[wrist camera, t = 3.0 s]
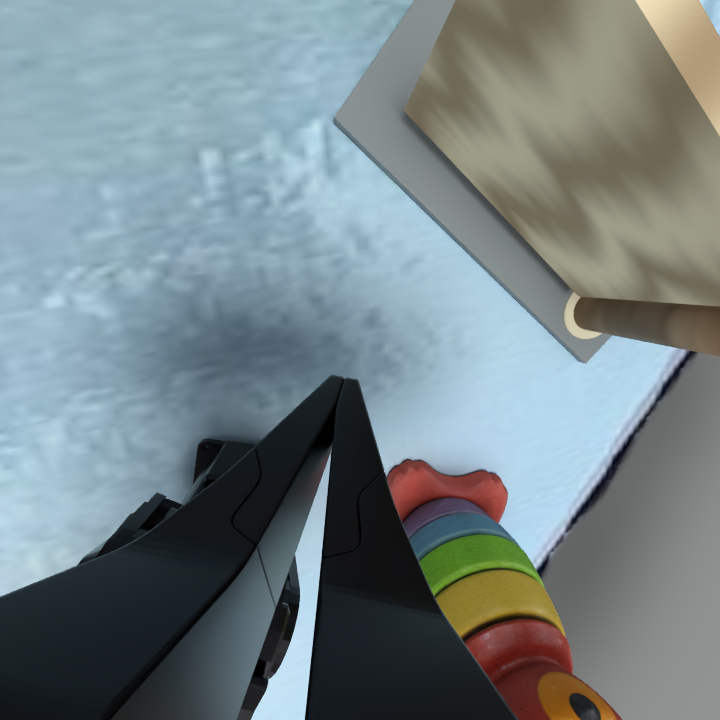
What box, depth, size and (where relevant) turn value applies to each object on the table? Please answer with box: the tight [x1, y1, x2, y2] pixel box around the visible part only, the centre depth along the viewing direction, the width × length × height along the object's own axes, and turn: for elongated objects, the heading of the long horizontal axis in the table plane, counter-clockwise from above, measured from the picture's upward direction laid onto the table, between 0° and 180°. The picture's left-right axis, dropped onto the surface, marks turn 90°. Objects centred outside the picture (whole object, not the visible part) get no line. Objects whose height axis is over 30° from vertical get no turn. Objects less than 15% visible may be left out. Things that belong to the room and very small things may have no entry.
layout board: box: [334, 0, 612, 364], centre depth 20 cm, size 18×25×1 cm
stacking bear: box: [387, 460, 622, 720], centre depth 18 cm, size 11×10×18 cm
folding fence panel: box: [404, 0, 720, 306], centre depth 13 cm, size 16×1×11 cm, turn 52°
